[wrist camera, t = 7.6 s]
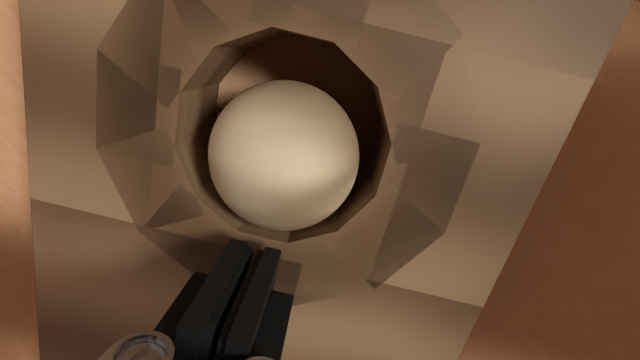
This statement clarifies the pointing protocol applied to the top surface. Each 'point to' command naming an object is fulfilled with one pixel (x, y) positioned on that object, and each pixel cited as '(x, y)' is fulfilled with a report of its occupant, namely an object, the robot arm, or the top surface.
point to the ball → (283, 155)
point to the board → (365, 196)
